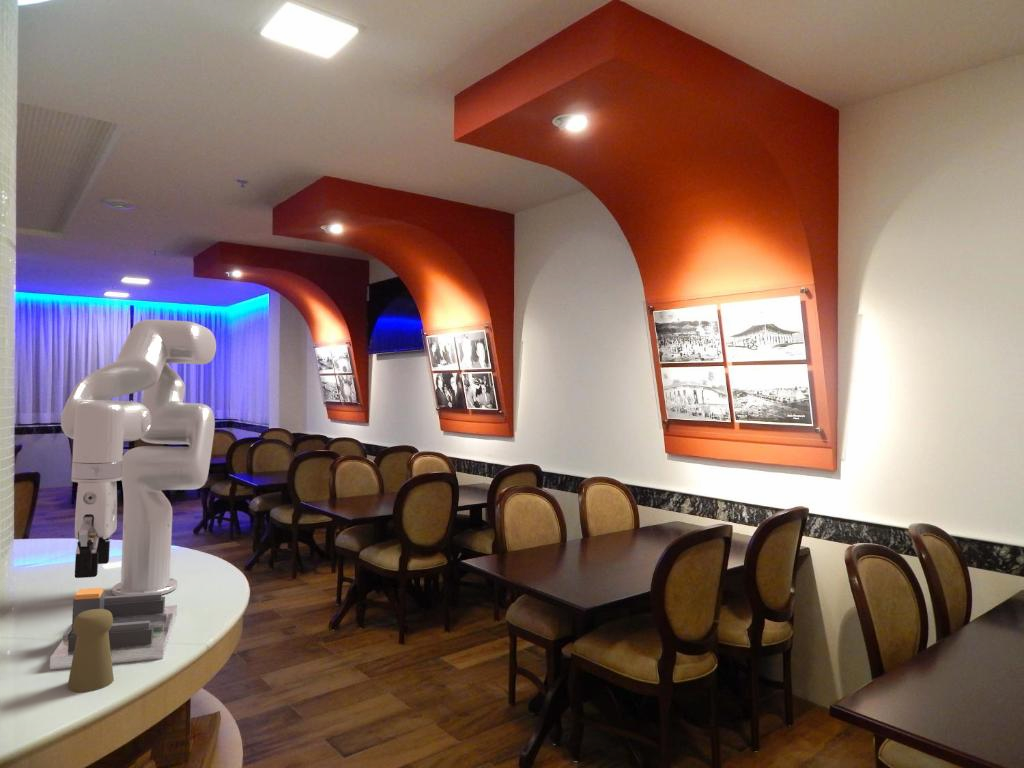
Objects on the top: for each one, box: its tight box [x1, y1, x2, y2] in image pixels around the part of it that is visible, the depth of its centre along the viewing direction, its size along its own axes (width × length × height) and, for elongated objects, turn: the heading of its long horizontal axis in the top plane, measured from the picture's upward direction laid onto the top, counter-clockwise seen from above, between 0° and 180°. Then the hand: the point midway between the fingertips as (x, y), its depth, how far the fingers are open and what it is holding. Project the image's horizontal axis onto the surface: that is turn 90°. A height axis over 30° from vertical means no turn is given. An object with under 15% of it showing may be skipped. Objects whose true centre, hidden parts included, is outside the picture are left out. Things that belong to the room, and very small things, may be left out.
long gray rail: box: [68, 593, 166, 652], centre depth 119 cm, size 18×12×3 cm, turn 21°
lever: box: [71, 587, 106, 632], centre depth 118 cm, size 4×4×7 cm
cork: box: [67, 609, 115, 693], centre depth 102 cm, size 6×6×11 cm
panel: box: [49, 604, 178, 671], centre depth 119 cm, size 22×16×3 cm
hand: (92, 570), depth 117 cm, fingers open, 9 cm apart
